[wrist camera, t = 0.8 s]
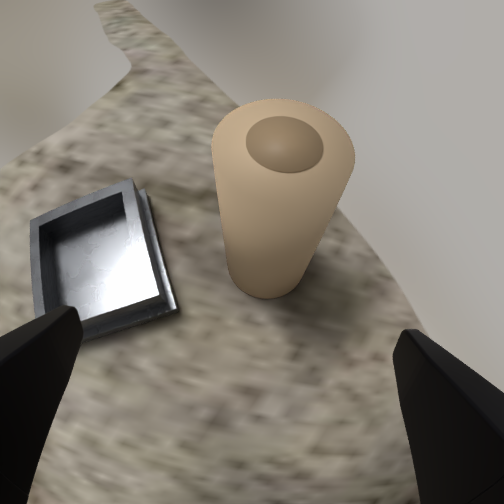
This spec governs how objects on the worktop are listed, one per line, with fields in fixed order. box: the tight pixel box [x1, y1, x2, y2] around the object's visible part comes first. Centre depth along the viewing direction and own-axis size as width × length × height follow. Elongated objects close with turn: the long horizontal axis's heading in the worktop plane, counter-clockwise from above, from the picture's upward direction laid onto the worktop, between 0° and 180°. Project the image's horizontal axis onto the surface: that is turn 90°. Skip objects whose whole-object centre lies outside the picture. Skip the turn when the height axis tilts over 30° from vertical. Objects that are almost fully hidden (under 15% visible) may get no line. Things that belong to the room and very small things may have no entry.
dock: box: [30, 178, 179, 343], centre depth 22 cm, size 11×11×4 cm
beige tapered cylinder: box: [211, 99, 355, 299], centre depth 18 cm, size 6×6×13 cm
